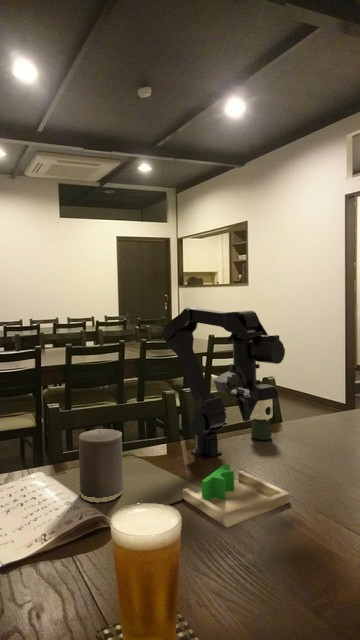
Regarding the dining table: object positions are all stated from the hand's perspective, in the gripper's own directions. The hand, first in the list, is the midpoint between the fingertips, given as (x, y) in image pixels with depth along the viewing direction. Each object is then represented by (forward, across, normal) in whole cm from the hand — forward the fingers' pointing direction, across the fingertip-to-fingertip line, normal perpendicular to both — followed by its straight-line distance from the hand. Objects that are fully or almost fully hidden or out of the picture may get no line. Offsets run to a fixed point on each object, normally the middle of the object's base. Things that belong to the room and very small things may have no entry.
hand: (245, 420), depth 113 cm
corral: (+12, +13, -14) cm, 22 cm away
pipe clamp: (+12, +9, -15) cm, 21 cm away
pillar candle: (+12, -6, -37) cm, 39 cm away
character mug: (+12, -15, +18) cm, 26 cm away
